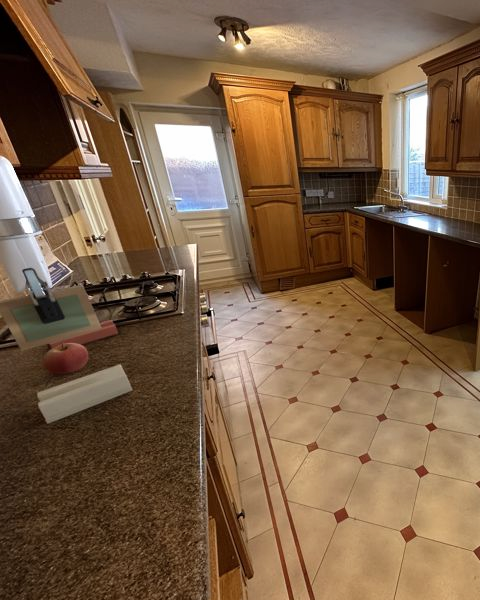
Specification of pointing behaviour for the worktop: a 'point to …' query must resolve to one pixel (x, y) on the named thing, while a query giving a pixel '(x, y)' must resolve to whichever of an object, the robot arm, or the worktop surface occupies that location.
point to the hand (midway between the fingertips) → (53, 318)
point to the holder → (82, 393)
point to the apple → (65, 358)
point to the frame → (35, 333)
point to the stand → (90, 335)
